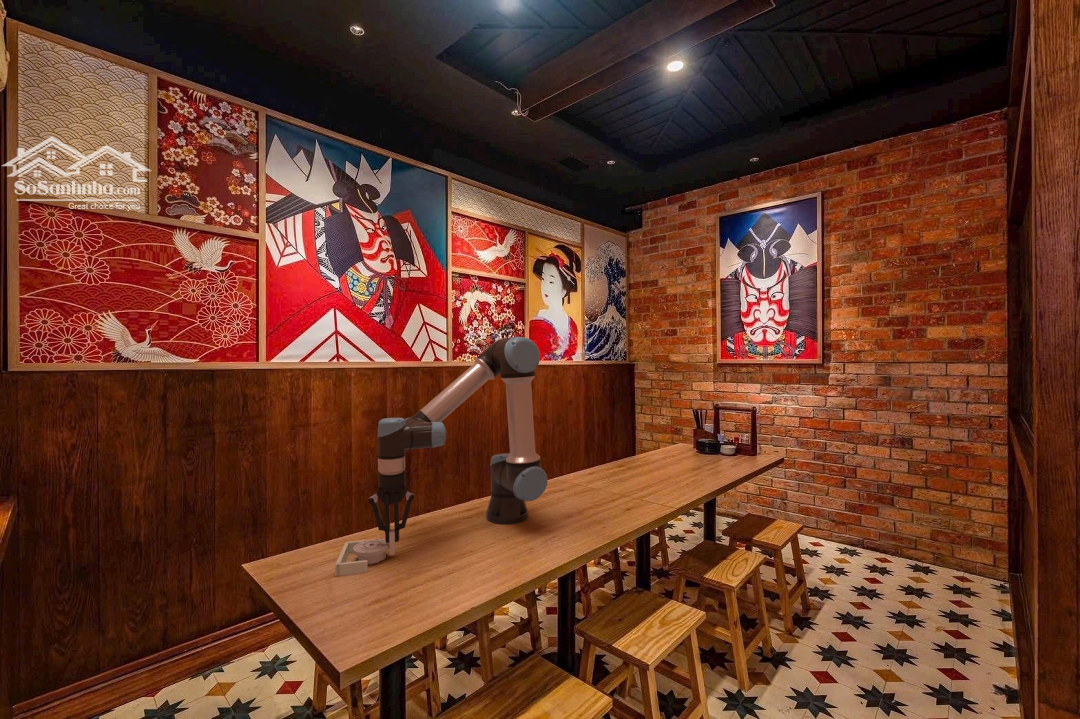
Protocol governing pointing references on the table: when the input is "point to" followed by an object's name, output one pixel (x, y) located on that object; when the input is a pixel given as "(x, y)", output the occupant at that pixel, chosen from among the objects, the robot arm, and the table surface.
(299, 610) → the table surface
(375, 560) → the mechanical component
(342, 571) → the u-shaped bracket
